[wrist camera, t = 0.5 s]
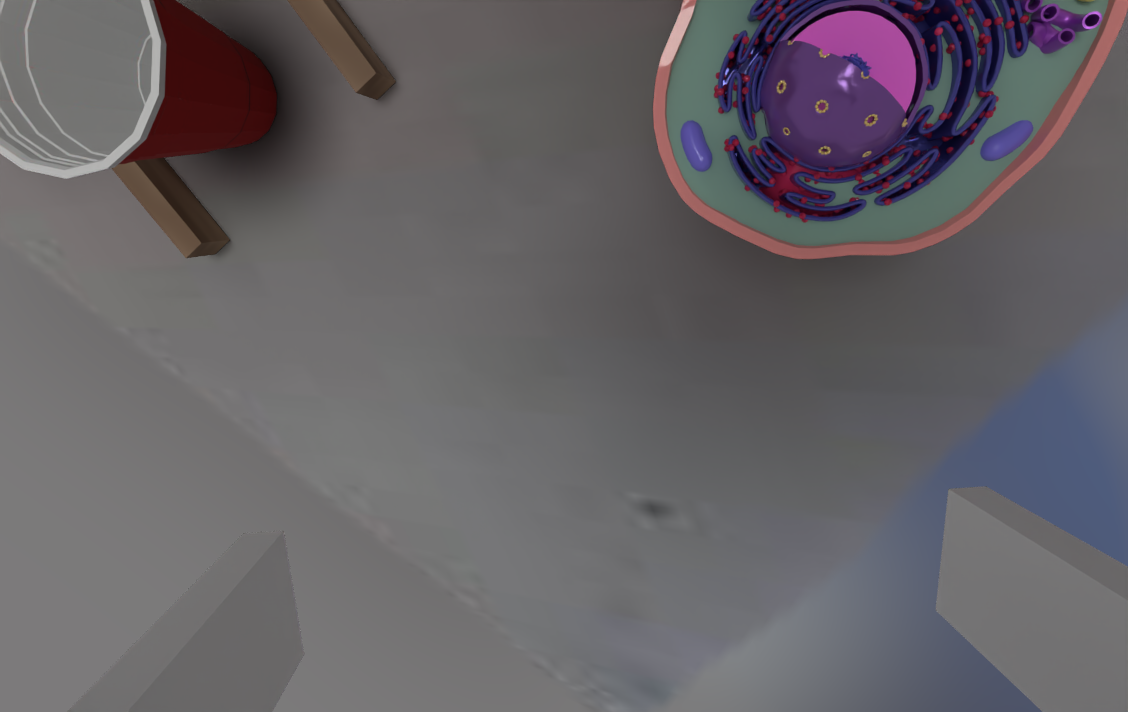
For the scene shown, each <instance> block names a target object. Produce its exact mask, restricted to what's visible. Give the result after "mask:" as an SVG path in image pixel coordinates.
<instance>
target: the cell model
mask: <svg viewBox="0 0 1128 712" xmlns="http://www.w3.org/2000/svg"><path fill="white" fill-rule="evenodd" d="M1127 10H1128V0H682V1H681V5H680V10H679V16H678V18H677V21H676V23H675V25H674V28H673V30H672V32H671V35H670V37H669V40H668V42H667V44H666V47H665V49H664V51H663V54H662V56H661V59H660V63H659V68H658V72H657V76H656V81H655V91H654V102H653V119H654V130H655V135H656V140H657V144H658V149H659V153H660V155H661V158H662V161H663V163H664V166H665V168H666V171H667V173H668V176H669V178H670V181H671V182H672V184H673V186H674V187H675V189H676V190H677V192H678V193H679V195H680V197H681V198H682V200H683V201H684V202H685V203H686V204H687V205H688V206H690V207H691V208H692V209H693V210H694V211H695V212H696V213H697V214H699V215H700V216H702V217H703V218H705V219H706V220H708V221H709V222H711V223H713V224H715V225H717V226H719V227H720V228H722V229H724V230H726V231H728V232H730V233H732V234H734V235H735V236H737V237H740V238H742V239H744V240H746V241H748V242H751V243H753V244H755V245H757V246H759V247H762V248H764V249H766V250H768V251H770V252H772V253H775V254H779V255H783V256H787V257H791V258H794V259H818V258H828V257H837V256H847V255H898V254H904V253H910V252H914V251H917V250H920V249H923V248H926V247H928V246H931V245H934V244H937V243H938V242H940V241H942V240H944V239H946V238H948V237H950V236H952V235H954V234H956V233H957V232H959V231H960V230H962V229H963V228H965V227H966V226H968V225H969V224H970V223H972V222H973V221H975V220H976V219H977V218H978V217H979V216H980V215H981V214H982V213H983V212H984V211H985V210H986V209H988V208H989V207H990V206H991V205H992V204H993V203H994V202H995V201H996V200H997V199H998V198H999V197H1000V196H1001V195H1002V194H1003V193H1004V192H1005V191H1006V190H1008V189H1009V188H1010V187H1011V186H1012V185H1013V184H1014V183H1015V182H1017V181H1018V180H1019V179H1020V178H1021V177H1022V176H1023V175H1024V174H1026V173H1027V172H1028V171H1029V170H1030V169H1031V168H1032V167H1033V166H1035V165H1036V164H1037V163H1038V162H1039V161H1040V160H1041V159H1042V158H1044V157H1045V155H1046V154H1047V153H1048V152H1049V150H1050V149H1051V148H1052V147H1053V145H1054V144H1055V143H1056V142H1057V140H1058V139H1059V138H1060V137H1061V136H1062V134H1063V132H1064V131H1065V129H1066V127H1067V126H1068V124H1069V122H1070V121H1071V119H1072V117H1073V116H1074V114H1075V112H1076V111H1077V109H1078V107H1079V105H1080V104H1081V102H1082V100H1083V99H1084V97H1085V95H1086V94H1087V92H1088V90H1089V89H1090V87H1091V85H1092V84H1093V82H1094V80H1095V78H1096V77H1097V75H1098V73H1099V71H1100V69H1101V68H1102V66H1103V64H1104V62H1105V60H1106V58H1107V56H1108V54H1109V52H1110V50H1111V48H1112V45H1113V43H1114V41H1115V39H1116V37H1117V35H1118V33H1119V31H1120V29H1121V26H1122V24H1123V22H1124V19H1125V16H1126V13H1127Z"/></svg>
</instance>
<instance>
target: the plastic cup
mask: <svg viewBox="0 0 1128 712" xmlns="http://www.w3.org/2000/svg"><path fill="white" fill-rule="evenodd" d="M276 104H277V93H276V90H275V87H274V83H273V80H272V77H271V75H270V73H269V72H268V70H267V69H266V67H265V66H264V65H263V63H262V62H261V60H260V59H259V58H257V57H256V56H255V54H254V53H252V52H251V51H250V50H248V49H247V48H245V47H244V46H242V45H241V44H239V43H238V42H236V41H235V40H233V39H232V38H230V37H228V36H227V35H226V34H225V33H223V32H222V31H220V30H219V29H217V28H216V27H214V26H213V25H212V24H210V23H209V22H207V21H206V20H204V19H203V18H201V17H200V16H198V15H197V14H195V13H194V12H192V11H191V10H189V9H188V8H186V7H185V6H183V5H182V4H180V3H179V2H177V1H176V0H0V154H2V155H3V156H5V157H6V158H8V159H9V160H11V161H12V162H13V163H15V164H16V165H18V166H19V167H21V168H22V169H24V170H29V171H33V172H38V173H42V174H47V175H52V176H56V177H61V178H65V179H68V178H73V177H78V176H82V175H86V174H90V173H94V172H98V171H102V170H106V169H110V168H114V167H116V166H117V165H118V164H126V163H130V162H134V161H138V160H147V159H155V158H164V157H173V156H181V155H190V154H199V153H206V152H210V151H213V150H217V149H226V148H234V147H239V146H243V145H246V144H250V143H252V142H255V141H258V140H259V139H260V138H261V137H262V136H263V135H264V134H265V133H267V132H268V131H269V129H270V127H271V125H272V122H273V120H274V118H275V115H276Z"/></svg>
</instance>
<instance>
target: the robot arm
mask: <svg viewBox="0 0 1128 712" xmlns="http://www.w3.org/2000/svg"><path fill="white" fill-rule="evenodd" d="M936 611H937V612H938V613H939V614H940V615H941V616H943V617H944V619H946V620H947V621H948V622H949V623H950V624H951V625H952V626H953V627H954V628H955V629H956V630H957V631H958V632H959V633H960V634H961V635H962V636H963V637H964V638H966V639H967V640H968V641H969V642H970V643H971V644H972V645H973V646H974V647H975V648H976V649H977V650H978V651H979V652H980V653H981V654H983V655H984V656H985V657H986V658H987V659H988V660H989V661H990V662H991V663H992V664H993V665H994V666H995V667H996V668H997V669H998V670H999V671H1000V672H1001V673H1002V674H1004V675H1005V676H1006V677H1007V678H1008V679H1009V680H1010V681H1011V682H1012V683H1013V684H1014V685H1015V686H1016V687H1017V688H1018V689H1019V690H1021V692H1022V693H1023V694H1025V695H1026V696H1027V697H1028V698H1029V699H1030V700H1031V701H1032V702H1033V703H1034V704H1035V705H1036V706H1037V707H1038V708H1039V709H1040V710H1042V712H1128V567H1127V566H1126V565H1124V564H1122V563H1120V562H1119V561H1117V560H1115V559H1113V558H1111V557H1110V556H1107V555H1106V554H1104V553H1103V552H1101V551H1099V550H1097V549H1095V548H1094V547H1092V546H1090V545H1088V544H1087V543H1085V542H1083V541H1081V540H1080V539H1078V538H1076V537H1074V536H1072V535H1071V534H1069V533H1067V532H1065V531H1063V530H1062V529H1060V528H1058V527H1056V526H1055V525H1053V524H1051V523H1050V522H1048V521H1046V520H1044V519H1042V518H1041V517H1039V516H1037V515H1035V514H1034V513H1032V512H1030V511H1028V510H1026V509H1025V508H1023V507H1021V506H1019V505H1018V504H1016V503H1014V502H1012V501H1010V500H1009V499H1007V498H1005V497H1003V496H1002V495H1000V494H998V493H996V492H995V491H993V490H991V489H989V488H988V487H971V488H955V489H949V490H948V499H947V509H946V519H945V527H944V538H943V546H942V556H941V565H940V575H939V584H938V593H937V603H936ZM303 656H304V649H303V643H302V637H301V631H300V625H299V619H298V613H297V607H296V601H295V595H294V589H293V583H292V577H291V572H290V565H289V559H288V553H287V547H286V541H285V535H284V531H273V532H257V533H244V534H242V535H241V537H239V538H238V539H237V540H236V542H234V544H232V545H231V547H229V549H228V550H227V551H226V552H225V553H224V554H223V555H222V556H221V557H220V558H219V559H218V560H217V561H216V562H215V563H214V564H213V565H212V566H211V567H210V568H209V569H208V570H207V571H206V572H205V573H204V574H203V575H202V576H201V577H200V578H199V579H198V580H197V581H196V582H195V583H194V584H193V585H192V586H191V587H190V588H189V589H188V590H187V591H186V592H185V593H184V594H183V595H182V596H181V597H180V598H179V599H178V600H177V601H176V602H175V603H174V604H173V605H172V606H171V607H170V608H169V609H168V610H167V611H166V612H165V613H164V614H163V615H162V616H161V617H160V618H159V619H158V620H157V621H156V622H155V623H154V624H153V625H152V626H151V627H150V628H149V629H148V630H147V631H146V632H145V633H144V634H143V635H142V636H141V637H140V638H139V639H138V640H137V641H136V642H135V643H134V645H132V646H131V647H130V648H129V649H128V650H127V651H126V652H125V654H124V655H122V656H121V657H120V659H119V660H118V661H116V663H115V664H114V665H113V666H112V667H111V668H110V669H109V670H108V671H107V672H106V673H105V674H104V675H103V676H102V677H101V678H100V679H99V680H98V681H97V682H96V683H95V684H94V685H93V686H92V687H91V688H90V689H89V690H88V691H87V692H86V693H85V694H84V695H83V696H82V697H81V698H80V699H79V700H78V701H77V702H76V703H75V704H74V705H73V706H72V707H71V708H70V709H69V710H68V711H67V712H272V711H273V709H274V708H275V706H276V704H277V702H278V701H279V699H280V697H281V695H282V693H283V692H284V690H285V688H286V686H287V684H288V683H289V681H290V679H291V677H292V676H293V674H294V672H295V670H296V668H297V666H298V665H299V663H300V661H301V660H302V658H303Z"/></svg>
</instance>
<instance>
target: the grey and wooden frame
mask: <svg viewBox="0 0 1128 712" xmlns="http://www.w3.org/2000/svg"><path fill="white" fill-rule="evenodd" d="M287 1H288V2H289V3H290V5H291V6H292V7H293V9H294V10H295V11H296V13H297V14H298V15H299V17H300V18H301V19H302V21H303V22H304V23H305V25H306V26H307V27H308V29H309V30H310V31H311V33H312V34H313V35H314V37H315V38H316V40H317V41H318V42H319V44H320V45H321V46H322V48H323V49H324V50H325V52H326V53H327V54H328V56H329V57H330V58H331V60H332V61H333V62H334V64H335V65H336V66H337V68H338V69H339V70H340V72H341V73H342V74H343V76H344V77H345V78H346V80H347V81H348V83H349V84H350V85H351V87H352V88H353V89H354V91H355V92H356V93H359V94H362V95H364V96H367V97H370V98H373V99H376V100H377V99H378V98H379V97H381V96H382V95H383V94H384V93H385V92H386V91H387V90H388V89H389V88H390V87H391V86H392V85H393V84H394V83H395V82H396V81H395V80H394V78H393V77H392V76H391V74H390V73H389V71H388V70H387V69H386V67H385V66H384V65H383V63H382V62H381V61H380V59H379V58H378V56H377V55H376V54H375V52H374V51H373V50H372V48H371V47H370V45H369V44H368V43H367V41H366V40H365V39H364V37H363V36H362V35H361V33H360V32H359V30H358V29H357V28H356V26H355V25H354V24H353V22H352V21H351V19H350V18H349V17H348V15H347V14H346V13H345V11H344V10H343V9H342V7H341V6H340V4H339V3H338V2H337V0H287ZM112 169H113V171H114V172H115V173H116V174H117V176H118V177H119V178H120V179H121V180H122V182H123V183H124V184H125V185H126V186H127V188H128V189H129V190H130V191H131V192H132V194H133V195H134V196H135V197H136V198H137V200H138V201H139V202H140V203H141V204H142V206H143V207H144V208H145V209H146V211H147V212H148V213H149V214H150V215H151V217H152V218H153V219H154V220H155V221H156V223H157V224H158V225H159V226H160V227H161V229H162V230H163V231H164V232H165V233H166V235H167V236H168V237H169V238H170V239H171V241H172V242H173V243H174V244H175V246H176V247H177V248H178V249H179V250H180V252H181V253H182V254H183V255H184V256H185V258H191V257H198V256H206V255H213V254H216V253H217V252H218V251H219V250H220V249H221V248H222V247H223V246H224V245H225V244H226V243H227V242H228V241H230V239H229V238H228V237H227V236H226V234H225V233H224V232H223V231H222V230H221V228H220V227H219V226H218V225H217V223H216V222H215V221H214V220H213V218H212V217H211V216H210V215H209V214H208V212H207V211H206V210H205V209H204V207H203V206H202V205H201V204H200V202H199V201H198V200H197V199H196V198H195V196H194V195H193V194H192V193H191V191H190V190H189V189H188V188H187V186H186V185H185V184H184V183H183V181H182V180H181V179H180V178H179V177H178V175H177V174H176V173H175V172H174V170H173V169H172V168H171V167H170V165H169V164H168V163H167V162H166V161H165V159H164V158H155V159H147V160H138V161H134V162H130V163H126V164H118V165H117V166H116V167H114V168H112Z"/></svg>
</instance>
